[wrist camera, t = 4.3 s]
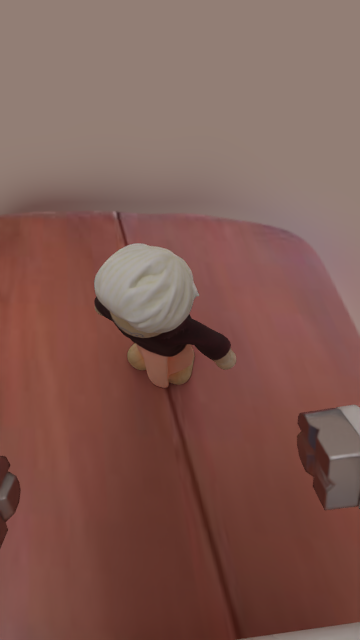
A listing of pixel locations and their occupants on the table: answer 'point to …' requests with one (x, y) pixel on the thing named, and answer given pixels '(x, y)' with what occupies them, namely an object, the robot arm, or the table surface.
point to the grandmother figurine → (157, 313)
